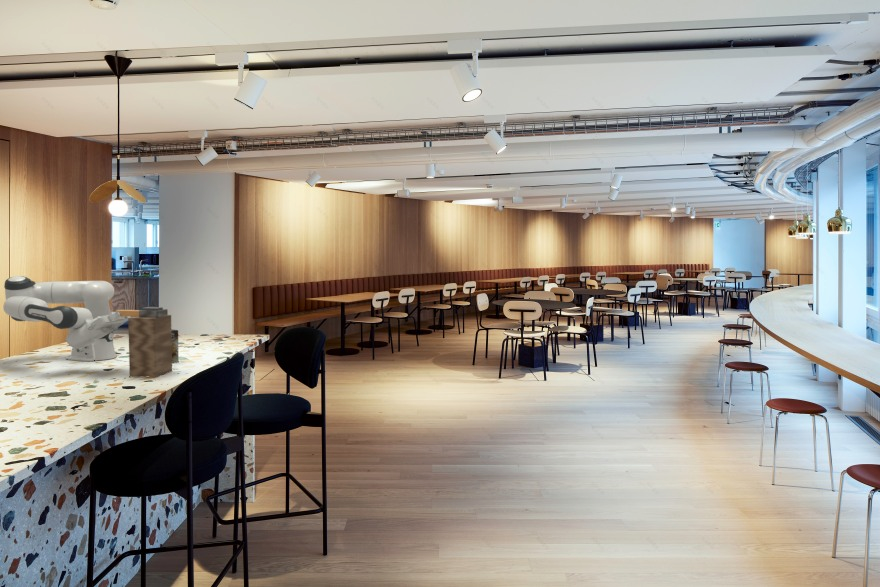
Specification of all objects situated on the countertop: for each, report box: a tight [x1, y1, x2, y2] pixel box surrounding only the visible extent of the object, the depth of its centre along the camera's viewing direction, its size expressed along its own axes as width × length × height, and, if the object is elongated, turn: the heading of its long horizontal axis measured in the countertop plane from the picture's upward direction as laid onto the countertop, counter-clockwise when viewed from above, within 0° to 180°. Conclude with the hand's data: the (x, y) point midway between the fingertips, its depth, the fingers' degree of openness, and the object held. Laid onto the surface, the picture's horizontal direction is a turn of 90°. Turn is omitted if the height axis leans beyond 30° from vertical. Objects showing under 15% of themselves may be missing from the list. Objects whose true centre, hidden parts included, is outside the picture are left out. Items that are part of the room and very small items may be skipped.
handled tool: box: [115, 306, 164, 317], centre depth 269 cm, size 20×5×4 cm, turn 86°
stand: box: [127, 308, 173, 378], centre depth 270 cm, size 12×14×29 cm
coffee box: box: [171, 328, 180, 364], centre depth 296 cm, size 9×6×16 cm
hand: (126, 312), depth 270 cm, fingers open, 8 cm apart
